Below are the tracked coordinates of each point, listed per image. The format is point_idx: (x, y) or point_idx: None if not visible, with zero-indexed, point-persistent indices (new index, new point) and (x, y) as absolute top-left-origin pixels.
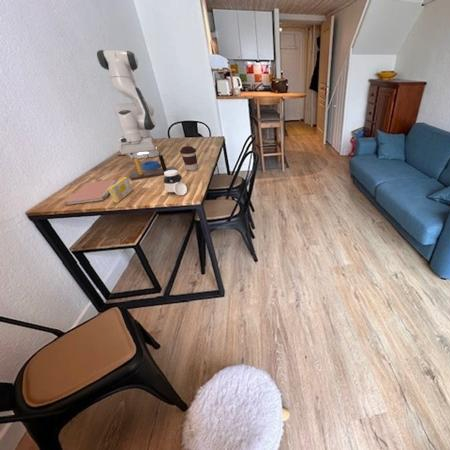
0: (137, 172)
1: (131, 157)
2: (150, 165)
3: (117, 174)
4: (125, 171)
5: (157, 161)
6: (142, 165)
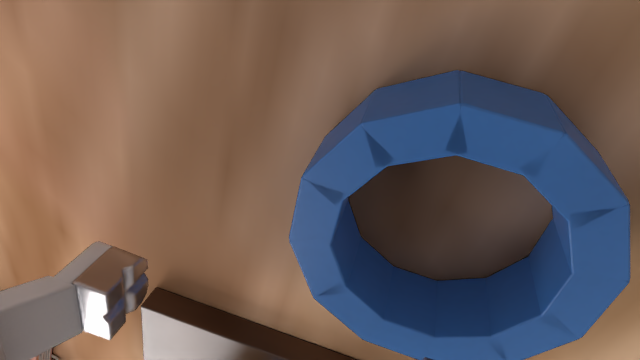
0: (207, 337)
1: (71, 325)
2: (390, 348)
3: (14, 130)
4: (89, 80)
5: (614, 273)
6: (297, 253)
